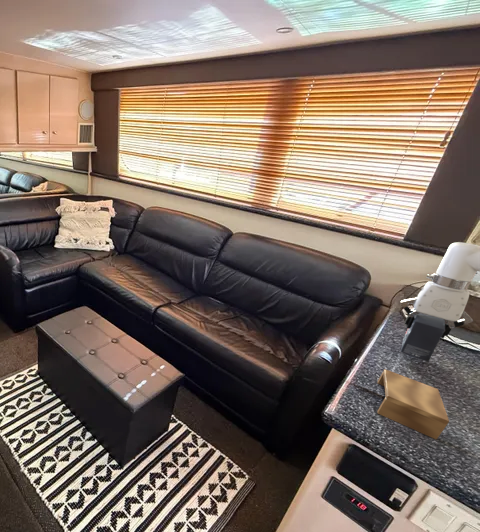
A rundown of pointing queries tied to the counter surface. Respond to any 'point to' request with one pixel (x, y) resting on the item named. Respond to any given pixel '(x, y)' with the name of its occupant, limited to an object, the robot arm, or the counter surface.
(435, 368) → the counter surface
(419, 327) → the small box
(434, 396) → the tan bracket
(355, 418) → the counter surface
